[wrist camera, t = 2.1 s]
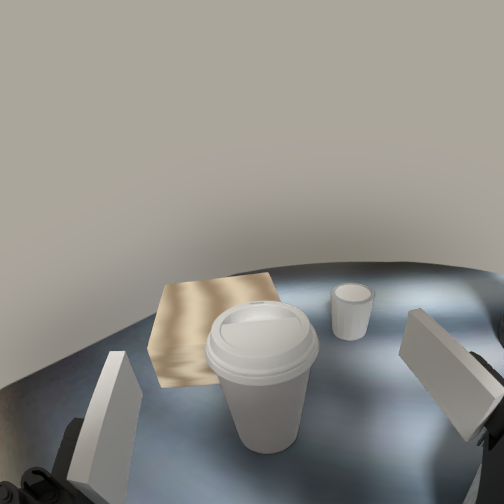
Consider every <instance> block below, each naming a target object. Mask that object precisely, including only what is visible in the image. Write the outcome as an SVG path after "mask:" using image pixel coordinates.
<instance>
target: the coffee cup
mask: <svg viewBox="0 0 504 504" xmlns="http://www.w3.org/2000/svg"><path fill="white" fill-rule="evenodd" d="M318 353H319V340H318V337H317V334H316V331H315V330H314V328H313V326H312V325H311V323H310V322H309V319H308V318H307V316H306V315H305V314H304V313H303V312H302V311H301V310H300V309H298V308H296V307H295V306H292V305H290V304H287V303H283V302H277V301H254V302H248V303H243V304H240V305H237V306H234V307H232V308H230V309H228V310H226V311H224V312H223V313H222V314H220V315H219V316H218V317H217V318H216V319H215V321H214V323H213V325H212V328H211V331H210V333H209V335H208V337H207V340H206V345H205V358H206V361H207V363H208V365H209V366H210V368H211V369H212V370H213V371H214V372H215V373H217V376H218V379H219V382H220V385H221V387H222V390H223V393H224V396H225V399H226V401H227V404H228V407H229V410H230V412H231V415H232V418H233V420H234V423H235V426H236V428H237V431H238V434H239V436H240V439H241V441H242V442H243V444H244V445H245V446H246V447H247V448H249V449H250V450H252V451H255V452H258V453H263V454H272V453H277V452H280V451H283V450H285V449H286V448H288V447H289V446H290V445H291V444H292V443H293V442H294V441H295V439H296V437H297V434H298V429H299V424H300V420H301V415H302V410H303V405H304V400H305V395H306V389H307V384H308V379H309V373H310V368H311V365H312V364H313V363H314V361H315V360H316V358H317V356H318Z"/></svg>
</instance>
